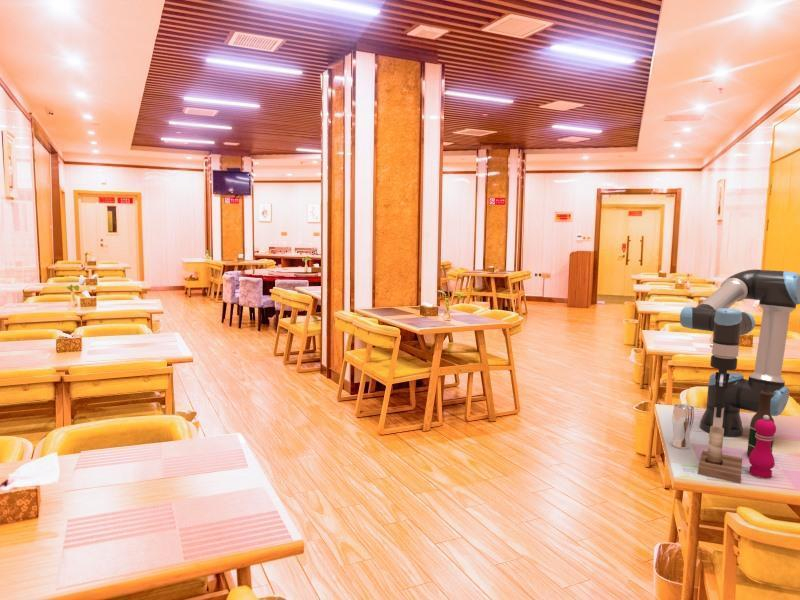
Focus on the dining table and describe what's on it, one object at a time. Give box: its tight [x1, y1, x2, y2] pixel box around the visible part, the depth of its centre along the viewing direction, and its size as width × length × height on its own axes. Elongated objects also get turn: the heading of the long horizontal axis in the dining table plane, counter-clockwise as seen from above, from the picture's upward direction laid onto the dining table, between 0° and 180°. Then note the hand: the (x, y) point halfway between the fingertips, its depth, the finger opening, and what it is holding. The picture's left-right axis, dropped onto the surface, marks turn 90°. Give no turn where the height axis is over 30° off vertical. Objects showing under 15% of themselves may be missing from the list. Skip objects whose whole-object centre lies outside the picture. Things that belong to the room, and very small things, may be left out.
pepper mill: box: [748, 415, 777, 479], centre depth 189 cm, size 7×7×20 cm
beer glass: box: [671, 403, 695, 450], centre depth 213 cm, size 7×7×15 cm
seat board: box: [697, 449, 743, 484], centre depth 193 cm, size 17×12×2 cm
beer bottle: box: [746, 391, 776, 458], centre depth 203 cm, size 8×8×24 cm
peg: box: [707, 426, 724, 465], centre depth 193 cm, size 4×4×14 cm
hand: (717, 426), depth 192 cm, fingers closed
